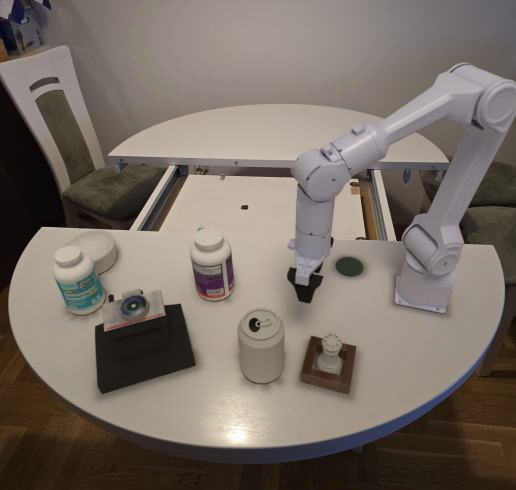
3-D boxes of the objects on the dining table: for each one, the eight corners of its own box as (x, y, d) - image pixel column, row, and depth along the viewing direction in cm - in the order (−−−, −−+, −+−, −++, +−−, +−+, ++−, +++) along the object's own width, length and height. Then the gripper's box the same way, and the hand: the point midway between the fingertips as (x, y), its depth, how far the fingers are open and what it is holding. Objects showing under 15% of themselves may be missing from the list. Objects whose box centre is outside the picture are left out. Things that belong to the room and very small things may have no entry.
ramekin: (92, 286, 87) (85, 268, 84) (59, 268, 92) (51, 251, 88) (130, 256, 94) (125, 239, 91) (98, 241, 99) (92, 224, 96)
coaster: (364, 260, 91) (364, 259, 90) (361, 278, 86) (361, 277, 86) (337, 255, 92) (338, 254, 92) (333, 273, 88) (333, 272, 88)
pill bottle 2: (218, 270, 90) (211, 217, 81) (242, 288, 85) (238, 235, 76) (189, 289, 85) (178, 236, 76) (213, 309, 81) (205, 255, 72)
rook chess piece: (341, 381, 67) (346, 352, 63) (314, 377, 68) (317, 348, 63) (342, 358, 71) (346, 329, 66) (316, 354, 72) (319, 326, 67)
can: (240, 350, 73) (235, 305, 66) (281, 346, 73) (281, 301, 66) (242, 388, 67) (237, 343, 60) (286, 383, 67) (288, 339, 60)
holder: (354, 354, 72) (356, 345, 70) (348, 394, 66) (350, 386, 64) (310, 343, 74) (311, 335, 72) (300, 382, 68) (301, 373, 66)
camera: (77, 351, 58) (76, 276, 68) (103, 396, 68) (99, 324, 78) (186, 321, 61) (169, 254, 72) (196, 368, 71) (180, 303, 82)
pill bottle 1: (71, 322, 79) (47, 272, 71) (66, 297, 84) (43, 248, 76) (109, 308, 82) (91, 258, 73) (103, 285, 87) (84, 236, 79)
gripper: (299, 196, 70) (297, 255, 78) (276, 248, 59) (276, 310, 67) (340, 202, 68) (333, 262, 76) (324, 257, 57) (318, 320, 66)
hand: (309, 285), depth 72 cm, fingers open, 7 cm apart
